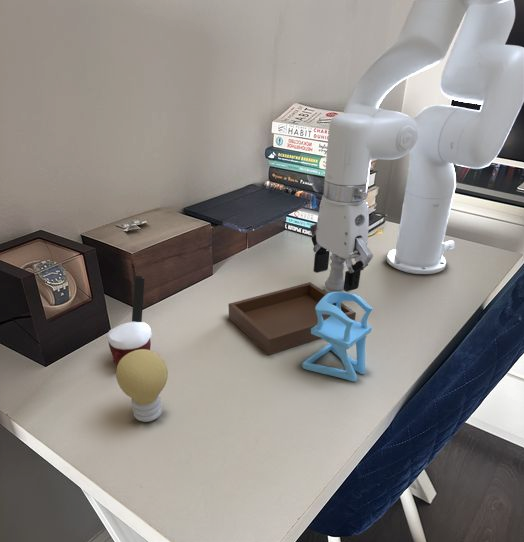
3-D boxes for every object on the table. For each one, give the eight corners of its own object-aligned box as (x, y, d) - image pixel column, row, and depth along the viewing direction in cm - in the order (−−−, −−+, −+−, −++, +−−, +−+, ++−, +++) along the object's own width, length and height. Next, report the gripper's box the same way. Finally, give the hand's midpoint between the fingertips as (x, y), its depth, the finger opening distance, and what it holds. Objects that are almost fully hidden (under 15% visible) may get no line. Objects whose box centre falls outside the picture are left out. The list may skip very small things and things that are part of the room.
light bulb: (114, 414, 69) (103, 353, 63) (154, 394, 73) (146, 334, 67) (141, 438, 65) (131, 375, 60) (181, 415, 69) (175, 354, 63)
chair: (346, 389, 74) (356, 318, 67) (300, 367, 79) (305, 298, 72) (373, 366, 79) (385, 298, 72) (329, 347, 83) (336, 280, 77)
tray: (309, 295, 99) (310, 281, 97) (354, 327, 89) (356, 312, 87) (228, 318, 91) (228, 303, 89) (268, 355, 81) (268, 339, 80)
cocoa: (122, 379, 75) (110, 308, 69) (97, 363, 79) (83, 294, 72) (170, 353, 81) (164, 285, 75) (145, 339, 85) (137, 273, 78)
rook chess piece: (347, 287, 102) (352, 250, 97) (344, 297, 98) (349, 259, 94) (325, 284, 103) (329, 247, 98) (321, 294, 99) (325, 256, 95)
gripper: (395, 201, 85) (379, 293, 95) (331, 176, 97) (323, 260, 107) (360, 207, 82) (348, 302, 91) (299, 181, 94) (294, 267, 104)
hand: (335, 279), depth 99 cm, fingers open, 9 cm apart
